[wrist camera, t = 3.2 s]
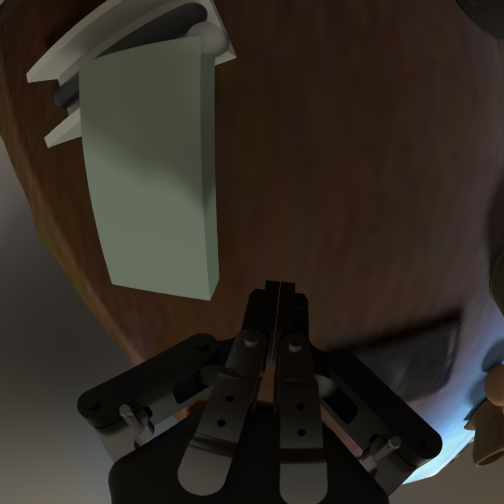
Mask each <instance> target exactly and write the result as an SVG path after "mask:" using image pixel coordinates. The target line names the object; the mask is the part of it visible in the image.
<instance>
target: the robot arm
mask: <svg viewBox="0 0 504 504" xmlns="http://www.w3.org/2000/svg"><path fill="white" fill-rule="evenodd" d="M457 1H458V3H459V4H460V5H461V7H462V8H463V9H464V11H465V12H466V13H467V14H468V15H469V17H470V18H471V19H472V20H473V21H474V22H475V23H476V24H478V25H479V26H480V27H481V28H482V29H484V30H485V31H486V32H488V33H489V34H491V35H493V36H495V37H497V38H500V39H504V0H457ZM279 288H280V282H278V281H269V280H266V285H265V290H262V289H255V290H254V291H253V292H252V293H251V294H250V295H249V300H248V304H247V308H246V312H245V316H244V320H243V324H242V328H241V331H240V332H239V333H238V334H237V335H236V337H234V338H232V339H229V340H222V341H217V340H216V339H215V338H214V337H213V336H212V335H209V334H205V333H199V334H195V335H193V336H191V337H189V338H188V339H186V340H184V341H182V342H180V343H179V344H177V345H175V346H173V347H171V348H169V349H168V350H166V351H164V352H162V353H160V354H158V355H156V356H155V357H153V358H151V359H149V360H147V361H145V362H143V363H141V364H139V365H138V366H136V367H134V368H132V369H130V370H128V371H126V372H124V373H122V374H120V375H118V376H116V377H114V378H112V379H110V380H108V381H106V382H104V383H102V384H100V385H98V386H96V387H94V388H92V389H90V390H88V391H86V392H84V393H83V394H82V395H81V396H80V397H79V399H78V402H77V408H78V411H79V412H80V414H81V415H82V416H83V417H84V418H85V419H86V420H87V422H88V423H89V425H90V426H91V427H92V428H93V429H94V430H95V431H96V432H97V434H98V436H99V438H100V439H101V441H102V443H103V445H104V446H105V448H106V450H107V452H108V453H109V455H110V457H111V458H112V460H113V461H114V465H113V466H112V468H111V470H110V472H109V478H108V484H109V489H110V493H111V500H112V504H389V499H388V497H389V496H390V495H391V494H392V493H393V492H394V491H395V490H396V489H397V488H398V487H399V486H400V485H401V484H402V483H403V482H404V481H405V480H406V479H407V478H408V477H409V476H410V475H411V474H412V473H413V472H414V471H415V470H416V469H418V468H419V467H421V466H422V465H424V464H426V463H427V462H429V461H430V460H432V459H433V458H435V457H436V456H437V455H438V454H439V453H440V452H441V449H442V444H443V443H442V439H441V436H440V435H439V434H438V433H437V432H436V431H435V430H434V429H433V428H432V427H431V426H430V425H429V424H428V423H427V422H425V421H424V420H423V419H422V418H421V417H420V416H419V415H418V414H417V413H416V412H415V411H414V410H413V409H412V408H410V407H409V406H408V405H407V404H406V403H405V402H404V401H403V400H402V399H401V398H400V397H399V396H398V395H396V394H395V393H394V392H393V391H392V390H391V389H390V388H389V387H388V386H387V385H386V384H385V383H384V382H383V381H382V380H380V379H379V378H378V377H377V376H376V375H375V374H374V373H373V372H372V371H371V370H370V369H369V368H368V367H367V366H366V365H364V364H363V363H362V362H361V361H360V360H359V359H358V358H357V357H356V356H355V355H354V354H353V353H351V352H350V351H348V350H345V349H335V350H333V351H331V352H330V353H327V352H324V351H321V350H319V349H317V348H316V347H314V346H313V345H312V344H311V342H310V340H309V317H308V300H307V298H306V296H305V295H304V294H301V293H295V283H288V282H281V289H280V297H279ZM278 297H279V306H278ZM277 306H278V314H277ZM276 315H277V323H276ZM275 323H276V332H275ZM274 332H275V340H274V349H273V357H272V364H276V367H275V374H274V393H273V414H267V415H264V414H260V413H257V412H254V410H255V406H256V402H257V398H258V394H259V390H260V386H261V382H262V378H263V374H264V372H265V368H266V363H270V362H271V354H272V347H273V339H274ZM210 391H212V392H211V394H210V397H209V399H208V402H207V405H206V407H205V409H204V410H200V411H198V412H195V413H193V414H191V415H189V416H188V417H186V418H185V419H183V420H182V421H180V422H179V423H177V424H175V425H174V426H172V427H171V428H169V429H168V430H166V431H165V432H163V433H162V434H160V435H158V436H157V437H155V438H154V439H152V440H150V439H151V438H152V436H153V434H154V431H155V430H154V429H155V428H154V426H155V425H156V424H158V423H160V422H161V421H163V420H165V419H167V418H168V417H170V416H172V415H173V414H175V413H177V412H178V411H180V410H182V409H183V408H185V407H187V406H188V405H190V404H191V403H193V402H195V401H196V400H198V399H199V398H201V397H203V396H204V395H206V394H207V393H209V392H210ZM320 404H321V405H322V406H323V408H324V409H325V410H326V411H327V412H328V413H329V414H330V415H331V416H332V418H333V419H334V420H335V421H336V422H337V423H338V424H339V425H340V426H341V427H342V428H343V430H344V431H345V432H346V433H347V434H348V435H349V436H350V437H351V438H352V439H353V440H354V441H355V442H356V444H357V445H358V446H359V447H360V448H361V449H362V450H363V453H362V456H361V460H362V464H363V465H364V467H365V468H366V469H365V468H364V467H363V466H362V464H361V463H360V462H359V461H358V460H357V459H356V458H355V456H354V455H353V454H352V453H351V452H350V451H349V449H348V448H347V447H346V446H345V445H344V444H343V442H342V441H341V440H340V439H339V438H338V436H337V435H336V434H335V433H334V432H333V431H332V430H331V429H330V428H329V427H327V426H326V425H324V424H322V421H321V408H320ZM148 440H150V441H149V442H147V441H148ZM146 442H147V443H146Z"/></svg>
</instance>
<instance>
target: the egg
mask: <svg viewBox="0 0 504 504" xmlns="http://www.w3.org/2000/svg"><path fill="white" fill-rule="evenodd" d="M484 388H485V393H486V395H487V397H488V399H489V400H490V401H491V402H492V403H493V404H495V405H497V406H503V405H504V365H503V364H499V365H495V366H494V367H492V368H491V369H490V370H489V372H488V373H487V376H486V379H485V384H484Z"/></svg>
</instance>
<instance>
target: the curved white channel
mask: <svg viewBox="0 0 504 504" xmlns="http://www.w3.org/2000/svg"><path fill="white" fill-rule="evenodd" d="M200 22H211V23H213V24H215V25H216V26H218V27H219V28H220V29H221V30H223V31H224V32H225V33H226V34H227V32H226V30H225V27H224V25H223V22H222V20H221V18H220V15H219V13H218V11H217V8H216V6H215V4H214V1H213V0H107V1H106V2H104V3H103V4H102V5H100V6H99V7H98V8H96V9H95V10H94V11H92V12H91V13H90V14H88V15H87V16H86V17H85V18H83V19H82V20H81V21H80V22H79V23H77V24H76V25H75V26H74V27H73V28H72V29H70V30H69V31H68V32H67V33H66V34H65V35H64V36H63V37H62V38H61V39H60V40H58V41H57V42H56V43H55V44H54V45H53V46H52V47H51V48H50V49H49V50H48V51H47V52H46V53H45V54H44V55H43V56H42V57H41V58H40V60H39V61H38V62H37V63H36V64H35V65H34V66H33V67H32V68H31V69H30V71H29V72H28V73H27V74H26V75H27V79H28V83H29V82H35V81H43V80H51V79H58V81H59V84H60V87H59V88H58V89H57V91H56V92H55V95H54V102H55V104H56V106H57V107H59V108H61V109H66V108H67V110H68V113H69V117H68V118H66V119H65V120H64V121H63V122H62V123H61V124H59V125H58V126H57V127H56V128H55V129H54V130H53V131H51V132H50V133H49V134H48V135H47V136H46V137H45V141H46V143H47V146H48V148H49V147H51V146H54V145H57V144H60V143H62V142H65V141H68V140H71V139H74V138H77V137H80V136H82V131H81V118H80V100H79V64H81V63H84V62H87V61H90V60H93V59H96V58H99V57H102V56H105V55H108V54H112V53H115V52H119V51H123V50H126V49H130V48H134V47H139V46H143V45H147V44H152V43H157V42H162V41H168V40H174V39H180V38H186V35H187V33H188V31H189V30H190V28H191V27H192V26H194V25H195V24H197V23H200ZM234 58H236V55H235V52H234V49H233V47H232V44H231V42H230V45H229V48H228V49H227V51H226V52H225V53H224V54H222V55H220V56H218V57H215V65H217V64H220V63H223V62H225V61H228V60H231V59H234Z"/></svg>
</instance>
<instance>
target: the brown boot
mask: <svg viewBox="0 0 504 504" xmlns="http://www.w3.org/2000/svg"><path fill="white" fill-rule="evenodd" d="M503 407H504V405H503V406H497V405H495V404H493V403H492V402H491V401H490V400H489V399H488V400H486V401H485V402H484V403H482V405H481V406H480V407H479V408H478V409H477V410H476V412H475V413H474V414H473V415H472V417H471V418H470V420H469V421H468V422H467V424H466V425H465V426H464V429H467V430H475V439H474V446H473V462H474V465H475V466H476V467H484V466H487V465H490V464H493V463H495V462H497V461H498V460H500V459H502V458H503V457H504V414H503V412H502V409H503Z"/></svg>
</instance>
